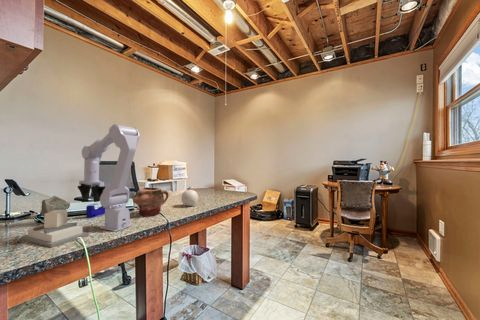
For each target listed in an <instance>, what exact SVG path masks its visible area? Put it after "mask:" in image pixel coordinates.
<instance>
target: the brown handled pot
mask: <svg viewBox="0 0 480 320" xmlns="http://www.w3.org/2000/svg"><path fill="white" fill-rule="evenodd" d="M164 194H165V196H164ZM168 198H169V192H168V191H167V190H165V189H164V190H162V188H159V187H143V188H140V189H138V190H137V192H136V194H135V197H133V203H135V205H137V207H138V214H139V215H140V216H142V217H154V216H158V215H159V214H160V213H161V207H162V206H163V205H165V203H166V202H167V200H168Z"/></svg>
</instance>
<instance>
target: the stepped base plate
mask: <svg viewBox="0 0 480 320" xmlns="http://www.w3.org/2000/svg"><path fill="white" fill-rule="evenodd" d="M85 236H86V237H88V236H90V235H89V232H86V231H83V226H82V225H78V222H73V223H68V222H67V223H65V224H63V225H61V226H59V227H57V228H44V225H39V226H35V227H32V228H28V229H27V234H24V235H21V236H20V239H21V240H23V241H27V242H30V243H34V244H38V245H40V246H41V245H42V246H45V247H49V248H54V247H57V246H61V245H64V244H66V242H67V243H70V242H73V241H75V240H76V239H77V237H83V238H85ZM77 240H78V239H77Z"/></svg>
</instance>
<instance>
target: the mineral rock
mask: <svg viewBox="0 0 480 320" xmlns="http://www.w3.org/2000/svg"><path fill="white" fill-rule="evenodd" d="M70 206H71V203H70V202H67V201H66V200H65V199H63V198H59V197H58V196H56V195H53V196H52V197H50V198H46V199H45V198H44V199H42V201H41V210H40V212H39V216H40V215H43V216H44V214H46V213H49V212H51V211H54V210H66V209H67V210H69V209H68V208H70Z"/></svg>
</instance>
